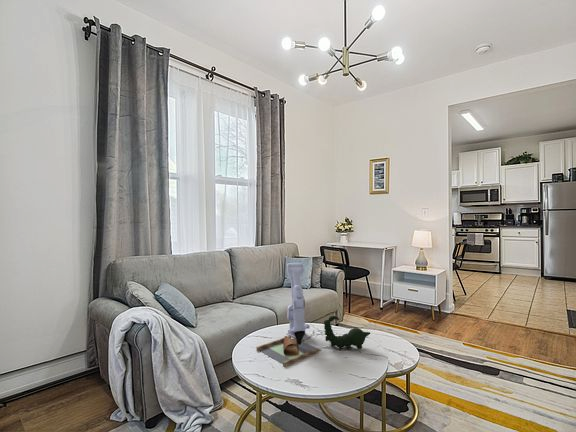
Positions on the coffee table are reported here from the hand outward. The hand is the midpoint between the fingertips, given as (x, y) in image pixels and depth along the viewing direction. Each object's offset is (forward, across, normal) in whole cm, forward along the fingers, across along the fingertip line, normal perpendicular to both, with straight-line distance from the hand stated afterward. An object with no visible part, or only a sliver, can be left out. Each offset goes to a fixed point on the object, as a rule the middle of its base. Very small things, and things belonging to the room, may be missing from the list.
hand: (299, 343), depth 180 cm
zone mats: (+2, -6, 0) cm, 6 cm away
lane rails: (+2, -8, 0) cm, 9 cm away
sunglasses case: (+2, -4, +2) cm, 5 cm away
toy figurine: (+2, +20, -18) cm, 27 cm away
